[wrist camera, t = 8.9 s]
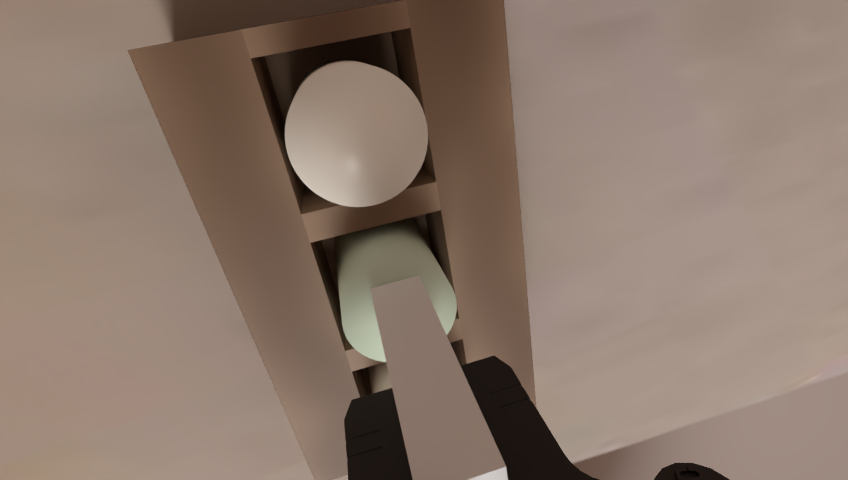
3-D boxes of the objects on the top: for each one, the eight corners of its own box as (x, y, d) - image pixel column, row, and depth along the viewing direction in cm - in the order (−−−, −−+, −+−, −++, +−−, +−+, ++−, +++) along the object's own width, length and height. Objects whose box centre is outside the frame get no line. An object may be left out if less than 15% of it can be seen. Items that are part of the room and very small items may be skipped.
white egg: (310, 171, 16) (308, 221, 12) (280, 69, 15) (264, 80, 10) (403, 149, 17) (437, 189, 12) (383, 49, 15) (414, 49, 10)
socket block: (316, 413, 22) (316, 484, 18) (174, 49, 14) (127, 50, 11) (502, 356, 23) (536, 412, 19) (459, -3, 16) (502, -19, 12)
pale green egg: (346, 292, 19) (357, 375, 14) (324, 216, 17) (327, 280, 12) (427, 271, 19) (463, 344, 14) (412, 195, 18) (447, 249, 13)
